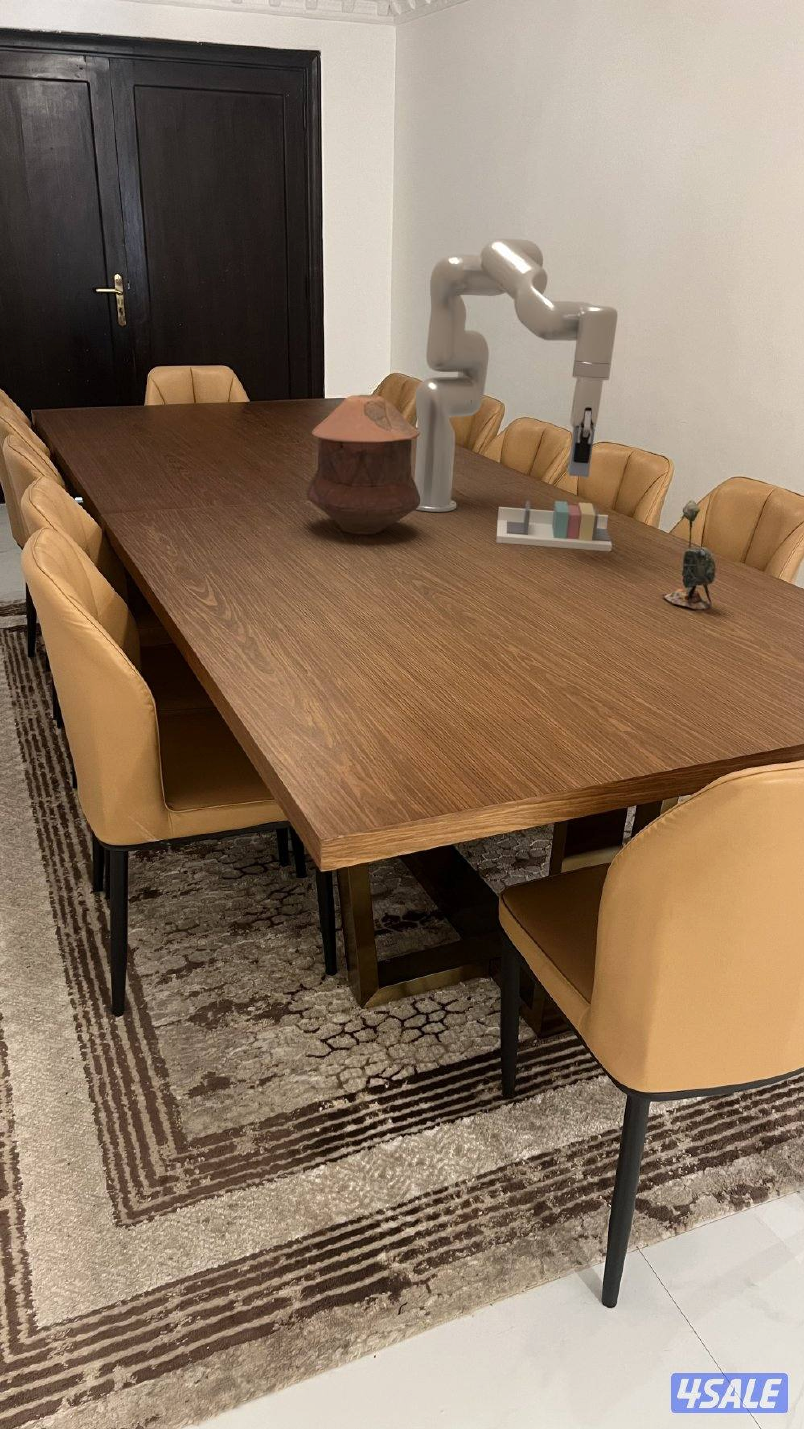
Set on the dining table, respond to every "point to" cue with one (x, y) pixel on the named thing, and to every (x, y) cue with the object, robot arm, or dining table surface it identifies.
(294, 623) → the dining table surface
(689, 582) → the green and brown figurine
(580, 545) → the book shelf
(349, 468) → the pottery vessel
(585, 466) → the boxed book
